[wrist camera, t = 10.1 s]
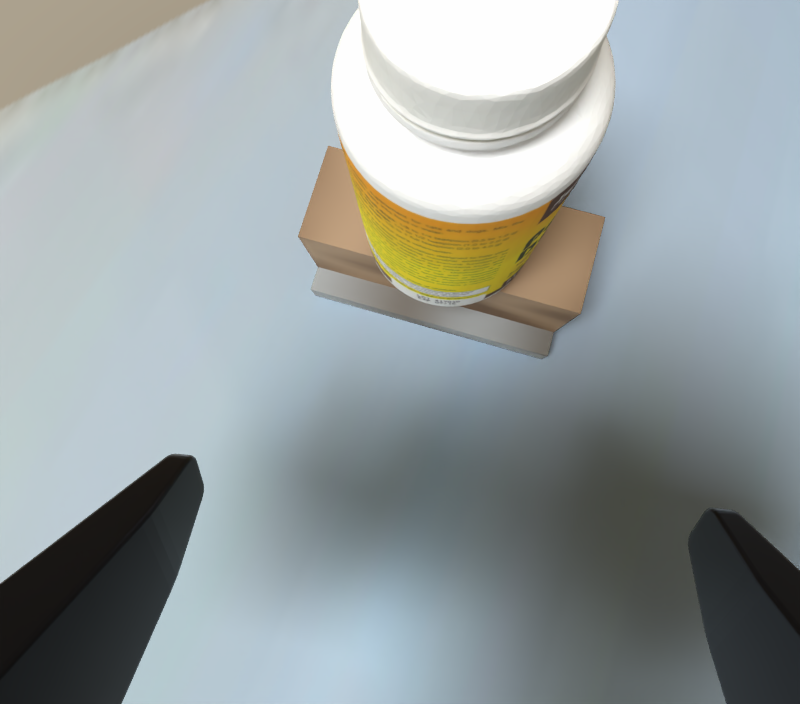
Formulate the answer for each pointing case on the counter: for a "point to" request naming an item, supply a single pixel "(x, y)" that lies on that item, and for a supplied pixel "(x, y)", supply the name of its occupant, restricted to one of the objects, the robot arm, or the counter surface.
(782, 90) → the counter surface
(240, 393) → the counter surface
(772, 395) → the counter surface
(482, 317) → the block
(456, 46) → the supplement bottle
